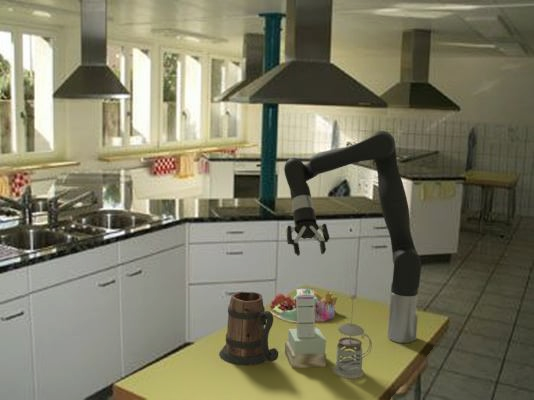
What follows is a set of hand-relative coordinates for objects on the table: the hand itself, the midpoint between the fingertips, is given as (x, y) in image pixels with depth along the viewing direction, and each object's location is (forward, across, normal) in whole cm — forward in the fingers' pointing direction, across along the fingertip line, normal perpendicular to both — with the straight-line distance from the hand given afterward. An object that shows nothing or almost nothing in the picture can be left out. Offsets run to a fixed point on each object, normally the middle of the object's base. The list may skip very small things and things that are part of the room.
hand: (310, 254), depth 195 cm
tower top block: (+29, -5, +8) cm, 31 cm away
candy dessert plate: (+8, +5, +44) cm, 45 cm away
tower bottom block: (+33, -5, +11) cm, 35 cm away
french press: (+39, +7, +3) cm, 40 cm away
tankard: (+30, -22, +12) cm, 39 cm away
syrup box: (+26, -5, +5) cm, 27 cm away
